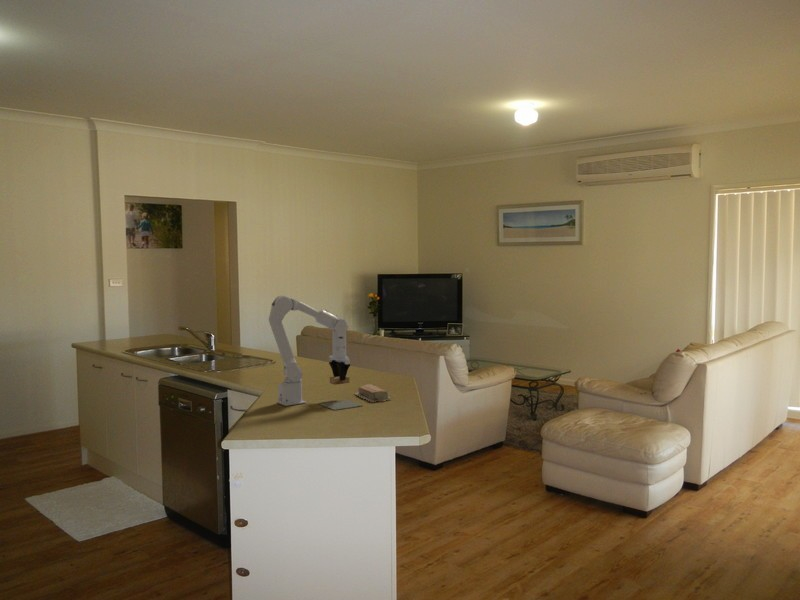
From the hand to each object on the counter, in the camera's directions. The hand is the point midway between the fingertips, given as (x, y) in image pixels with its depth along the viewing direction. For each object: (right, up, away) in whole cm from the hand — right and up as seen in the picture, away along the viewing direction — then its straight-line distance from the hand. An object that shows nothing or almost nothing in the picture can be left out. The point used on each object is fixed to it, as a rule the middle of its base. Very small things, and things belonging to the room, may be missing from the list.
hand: (339, 379), depth 274 cm
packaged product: (+14, -9, +4) cm, 17 cm away
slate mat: (+2, -9, -12) cm, 15 cm away
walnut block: (0, -2, 0) cm, 2 cm away
